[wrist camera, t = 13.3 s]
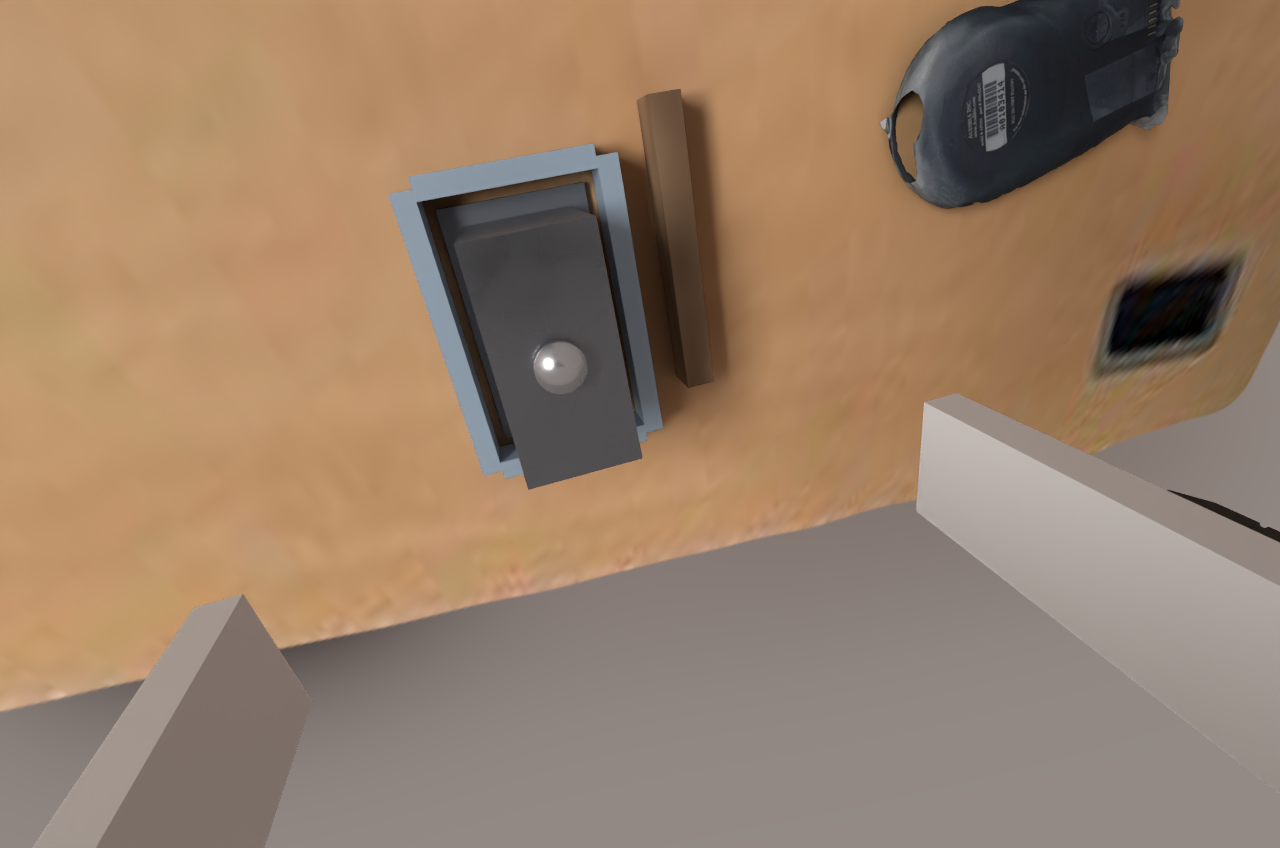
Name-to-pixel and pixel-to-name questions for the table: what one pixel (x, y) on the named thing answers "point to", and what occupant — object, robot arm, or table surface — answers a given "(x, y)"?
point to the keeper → (442, 303)
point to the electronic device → (1032, 91)
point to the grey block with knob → (551, 341)
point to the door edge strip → (676, 233)
